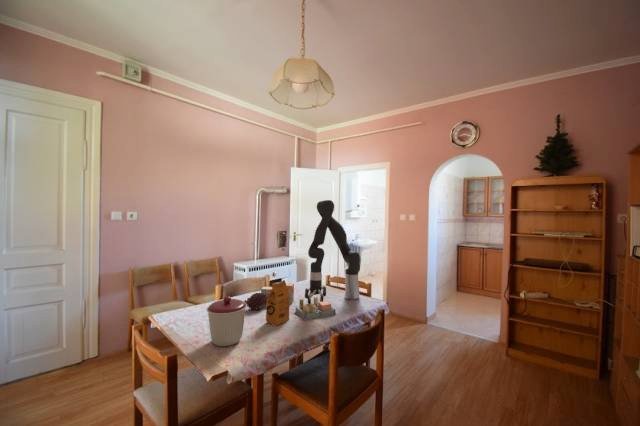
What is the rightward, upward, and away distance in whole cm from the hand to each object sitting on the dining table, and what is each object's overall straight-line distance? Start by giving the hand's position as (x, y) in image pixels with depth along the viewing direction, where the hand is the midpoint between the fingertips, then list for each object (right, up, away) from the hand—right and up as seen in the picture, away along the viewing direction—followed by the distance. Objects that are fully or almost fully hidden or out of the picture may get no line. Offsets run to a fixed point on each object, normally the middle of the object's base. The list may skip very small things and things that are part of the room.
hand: (315, 303), depth 177 cm
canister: (-41, -2, -48) cm, 63 cm away
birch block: (-6, -2, -11) cm, 12 cm away
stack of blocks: (-26, -2, +9) cm, 27 cm away
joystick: (+3, -2, -6) cm, 7 cm away
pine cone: (-36, -2, -5) cm, 37 cm away
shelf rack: (0, -2, -11) cm, 11 cm away
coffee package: (-21, -2, -24) cm, 32 cm away
